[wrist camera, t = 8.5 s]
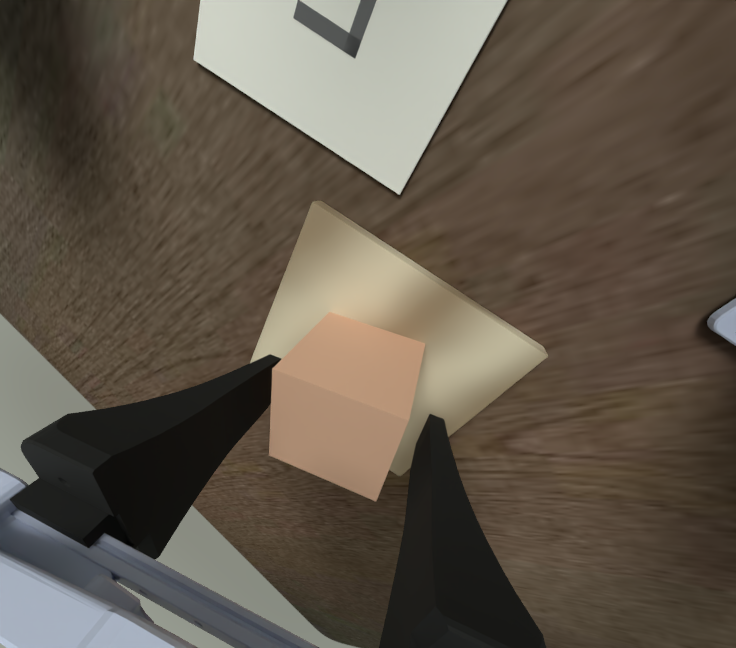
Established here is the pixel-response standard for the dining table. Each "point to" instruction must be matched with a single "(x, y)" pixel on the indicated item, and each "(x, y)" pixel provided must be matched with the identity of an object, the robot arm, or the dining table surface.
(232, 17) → the white card
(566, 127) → the dining table surface
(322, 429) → the terracotta block
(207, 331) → the dining table surface
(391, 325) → the birch pad
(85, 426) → the robot arm
